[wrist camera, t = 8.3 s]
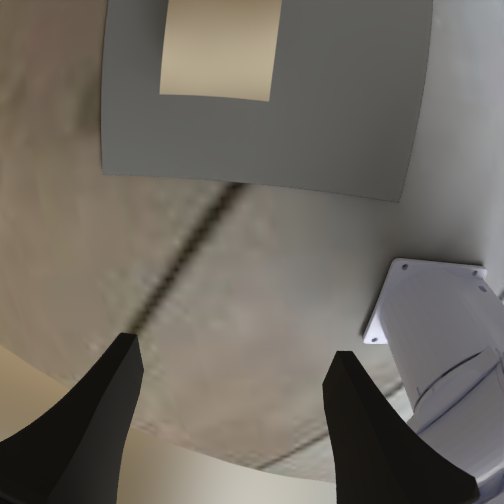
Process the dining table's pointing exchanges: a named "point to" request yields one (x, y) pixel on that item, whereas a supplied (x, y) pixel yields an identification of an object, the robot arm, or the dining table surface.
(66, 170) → the dining table surface
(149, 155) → the rubber mat
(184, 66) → the brown and cream block
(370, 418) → the robot arm
